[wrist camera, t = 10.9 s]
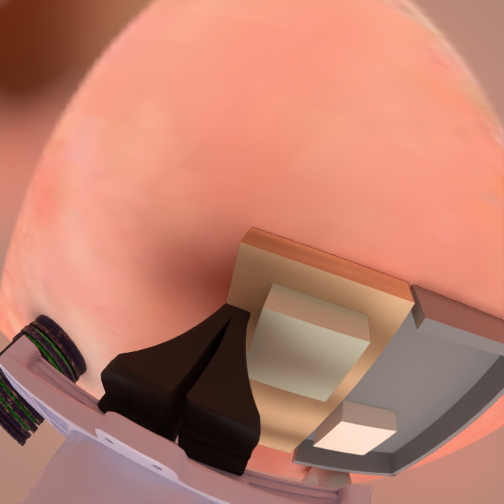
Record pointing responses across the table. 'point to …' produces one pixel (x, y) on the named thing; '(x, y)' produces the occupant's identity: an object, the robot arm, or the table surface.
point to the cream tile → (355, 428)
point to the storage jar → (56, 354)
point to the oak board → (322, 287)
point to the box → (424, 385)
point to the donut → (327, 478)
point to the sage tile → (305, 343)
